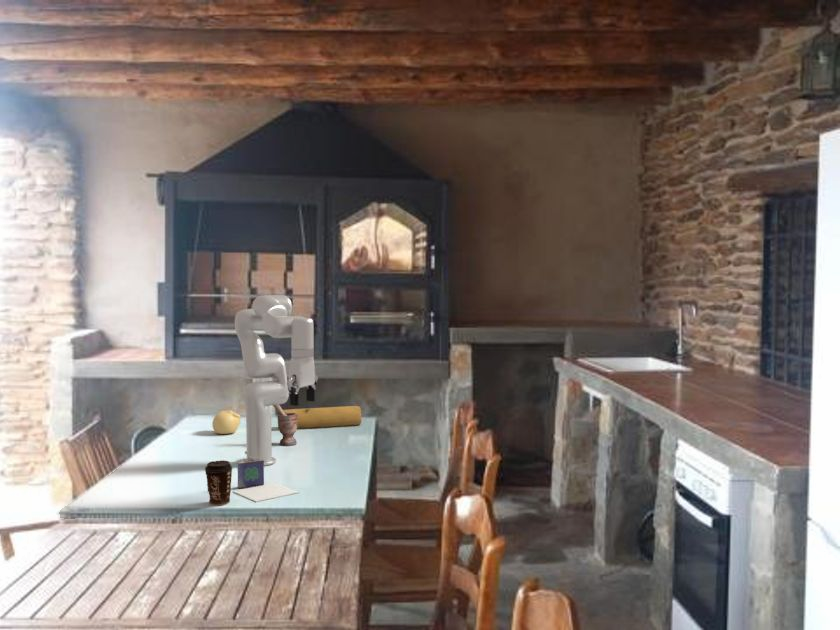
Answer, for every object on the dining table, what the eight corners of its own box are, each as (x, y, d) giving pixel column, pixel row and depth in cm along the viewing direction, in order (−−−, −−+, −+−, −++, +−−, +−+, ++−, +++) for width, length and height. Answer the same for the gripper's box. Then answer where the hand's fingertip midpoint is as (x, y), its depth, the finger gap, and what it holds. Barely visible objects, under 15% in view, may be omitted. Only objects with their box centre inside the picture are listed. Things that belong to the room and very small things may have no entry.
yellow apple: (244, 432, 358) (244, 409, 357) (225, 436, 348) (224, 413, 347) (227, 429, 364) (226, 407, 364) (207, 434, 354) (207, 411, 353)
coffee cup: (208, 499, 250) (208, 459, 249) (234, 498, 251) (234, 459, 250) (203, 507, 241) (202, 466, 241) (230, 506, 242) (229, 465, 241)
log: (357, 423, 382) (356, 403, 382) (361, 426, 373) (361, 406, 373) (279, 427, 370) (279, 407, 369) (282, 431, 361) (281, 410, 360)
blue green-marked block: (239, 489, 262) (238, 458, 261) (236, 487, 264) (236, 456, 264) (265, 485, 266) (264, 455, 266) (262, 483, 269) (261, 453, 268)
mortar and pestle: (270, 446, 327) (270, 400, 326) (270, 442, 336) (270, 397, 335) (298, 445, 329) (297, 399, 328) (297, 441, 338) (296, 396, 337)
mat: (233, 492, 258) (233, 491, 258) (274, 483, 269) (274, 482, 269) (256, 502, 246) (256, 501, 246) (298, 493, 257) (298, 492, 257)
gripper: (307, 350, 274) (307, 398, 274) (278, 355, 258) (278, 406, 259) (325, 352, 270) (325, 400, 271) (297, 356, 255) (297, 408, 256)
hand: (302, 403), depth 265 cm, fingers open, 9 cm apart
